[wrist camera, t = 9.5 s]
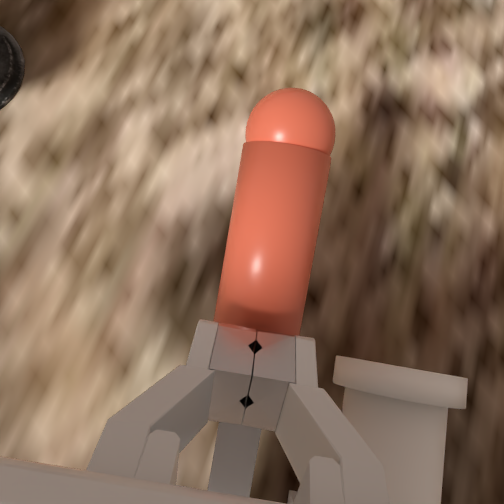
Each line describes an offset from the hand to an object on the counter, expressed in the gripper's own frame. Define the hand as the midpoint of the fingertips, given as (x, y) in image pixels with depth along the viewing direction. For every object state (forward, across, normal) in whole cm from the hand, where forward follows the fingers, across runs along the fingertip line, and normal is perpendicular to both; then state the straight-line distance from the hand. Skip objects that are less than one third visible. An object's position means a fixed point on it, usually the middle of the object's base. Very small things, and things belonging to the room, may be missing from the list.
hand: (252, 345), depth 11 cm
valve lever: (-4, 0, +11) cm, 11 cm away
